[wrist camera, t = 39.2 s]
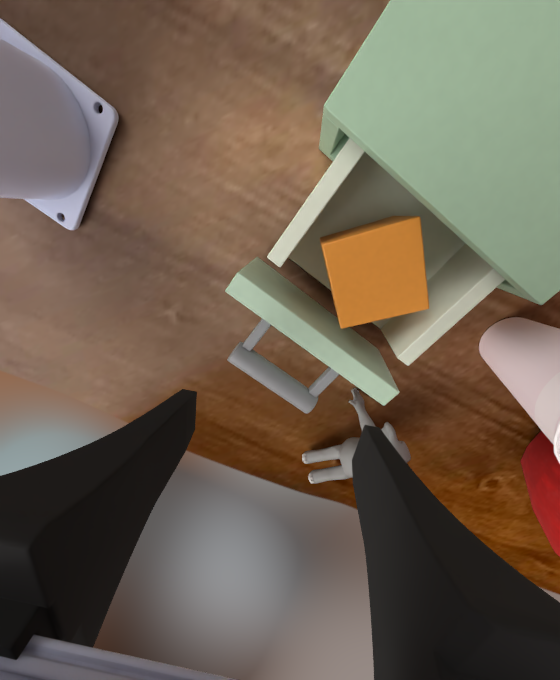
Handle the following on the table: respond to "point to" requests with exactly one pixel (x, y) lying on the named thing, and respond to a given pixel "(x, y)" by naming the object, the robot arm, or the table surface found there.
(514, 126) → the sage green box
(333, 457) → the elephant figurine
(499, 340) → the smoothie
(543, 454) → the apple
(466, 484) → the table surface
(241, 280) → the drawer
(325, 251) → the orange cube
